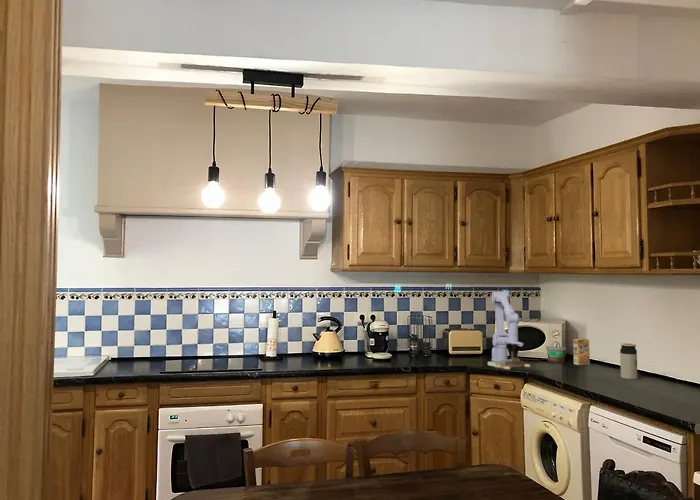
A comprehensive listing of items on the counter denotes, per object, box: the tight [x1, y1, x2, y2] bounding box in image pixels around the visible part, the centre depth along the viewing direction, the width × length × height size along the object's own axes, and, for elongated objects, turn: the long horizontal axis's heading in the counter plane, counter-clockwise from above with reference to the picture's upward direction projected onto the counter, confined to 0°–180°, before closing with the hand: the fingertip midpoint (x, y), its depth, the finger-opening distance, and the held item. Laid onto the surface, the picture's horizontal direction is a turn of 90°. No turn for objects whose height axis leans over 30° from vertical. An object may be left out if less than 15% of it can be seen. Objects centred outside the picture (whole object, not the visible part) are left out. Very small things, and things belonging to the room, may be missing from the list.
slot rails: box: [495, 362, 531, 370], centre depth 335 cm, size 11×17×2 cm, turn 118°
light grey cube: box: [500, 359, 510, 366], centre depth 336 cm, size 4×4×4 cm
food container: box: [545, 345, 567, 364], centre depth 351 cm, size 12×6×10 cm, turn 62°
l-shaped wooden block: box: [506, 352, 525, 369], centre depth 335 cm, size 2×12×9 cm, turn 116°
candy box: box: [572, 338, 591, 366], centre depth 343 cm, size 9×4×15 cm, turn 108°
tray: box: [487, 360, 501, 368], centre depth 343 cm, size 7×17×2 cm, turn 118°
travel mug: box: [619, 342, 638, 380], centre depth 300 cm, size 8×8×18 cm
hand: (513, 357), depth 335 cm, fingers open, 3 cm apart
